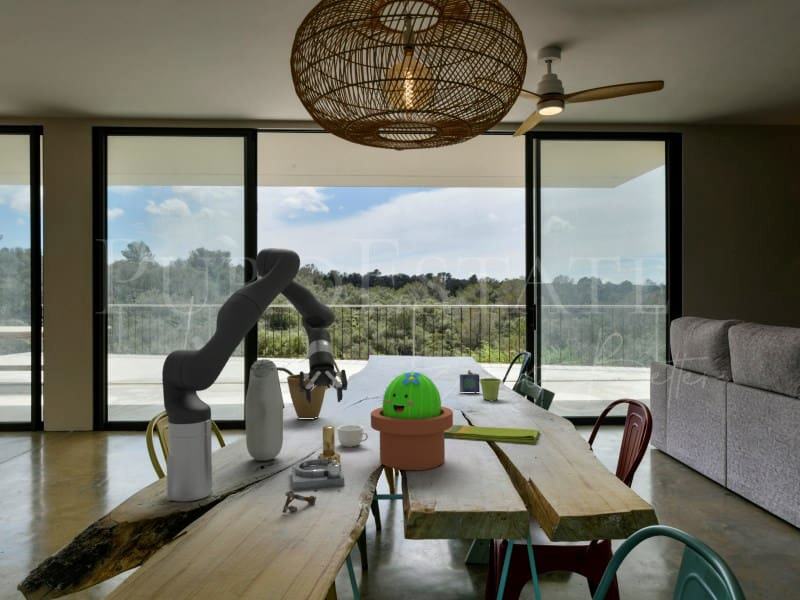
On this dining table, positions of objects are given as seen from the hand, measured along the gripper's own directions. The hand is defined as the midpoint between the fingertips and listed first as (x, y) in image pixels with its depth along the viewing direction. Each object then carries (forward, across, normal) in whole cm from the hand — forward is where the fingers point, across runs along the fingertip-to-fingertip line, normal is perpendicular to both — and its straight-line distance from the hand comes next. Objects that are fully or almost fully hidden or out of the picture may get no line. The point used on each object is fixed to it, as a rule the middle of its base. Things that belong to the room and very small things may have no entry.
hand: (324, 401), depth 158 cm
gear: (+19, 0, +2) cm, 19 cm away
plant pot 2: (-34, +77, +56) cm, 101 cm away
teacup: (+7, +9, +14) cm, 18 cm away
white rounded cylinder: (+13, -17, +9) cm, 23 cm away
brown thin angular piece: (+40, -9, -19) cm, 45 cm away
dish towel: (+6, +51, +16) cm, 54 cm away
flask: (-46, +74, +68) cm, 111 cm away
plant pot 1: (-23, -2, +45) cm, 51 cm away
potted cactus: (+21, +22, 0) cm, 31 cm away
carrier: (+27, -4, -6) cm, 28 cm away
